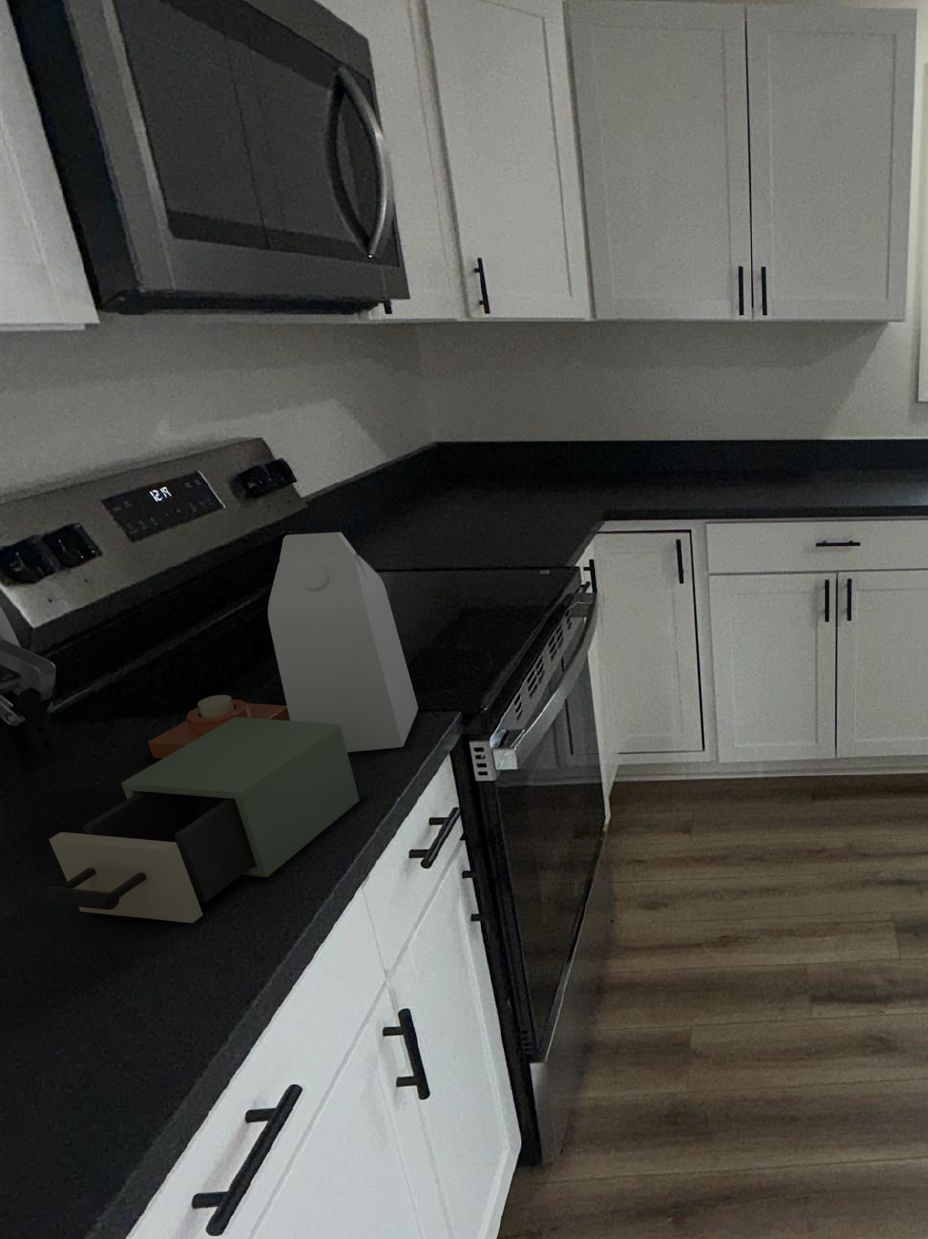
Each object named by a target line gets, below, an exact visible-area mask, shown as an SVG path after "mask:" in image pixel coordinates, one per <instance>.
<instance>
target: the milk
mask: <svg viewBox="0 0 928 1239" xmlns="http://www.w3.org/2000/svg"><path fill="white" fill-rule="evenodd" d="M281 545H282V546H281V548H280V549H281V550H280V555H279V562H278V563H277V568H276V572H275V576H274V580H273V583H272V588H271V590H270V596H269V600H268V605H267V619H268V625H269V629H270V634H271V638H272V642H273V647H274V653H275V657H276V662H277V666H278V670H279V676H280V680H281V685H282V689H283V694H284V698H285V703H286V706H287V708H288V713H289V718H290V721H299V722H314V723H328V724H340V727H341V731H342V735H343V738H344V742H345V746H346V750H347V753H353V752H364V751H375V750H384V749H394V748H395V749H396V748H403V747H404V746H405V743H406V740H407V738H408V735H409V733H410V731H411V728H412V726H413V723H414V721H415V718H416V716H417V714H418V710H419V705H418V703H417V698H416V694H415V692H414V688H413V684H412V680H411V677H410V673H409V669H408V666H407V662H406V659H405V655H404V652H403V648H402V644H401V640H400V637H399V633H398V629H397V626H396V623H395V618H394V614H393V611H392V606H391V604H390V600H389V597H388V593H387V589H386V587H385V583H384V581H383V579H382V578H381V576H380V575H379V574H378V572H376V571H375V569H374V570H373V569H372V568H371V567H370V566H369V565H368V564H367V563H366V562H365V561H366V560H364V559H363V557H361V556H360V555H359V554H357V551H356V550H355V549H354V547H353V546H352V545H351V543H350V542H349V540H347V538H346V537H345V535H344V534H343V533H342V531H339V532H338V531H337V532H317V533H315V532H314V533H297V534H286V535H285V536H284V537H283V539H282V544H281Z"/></svg>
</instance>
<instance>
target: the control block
mask: <svg viewBox="0 0 928 1239" xmlns="http://www.w3.org/2000/svg"><path fill="white" fill-rule="evenodd" d="M232 702H233V705H234V708H235V710H234V711H232V712H230V713H228V714H225V715H222V716H218V717H211V718H202V717H201V714H200V711H199V708H198V706H197V707H195V708H193V709H192V710H190V711H188V713H187V715H186V717H185V719H186V720H185V721H184V722H182V723H180V724H179V725H176V726H174V727H173V728H171V729H169V730H167V731H166V732H163V733H162V734H160V735H158V736H156V737H154V738H152V739H150V740H149V741H147V744H148V747H149V750H150V752H151V755H152V757H153V758H155V759H163V758H165V757H167V756H169V755H170V754H172V753H174V752H176V751H177V750H179V749H181V748H182V747H184V746H186V745H188V744H189V743H191V742H193V741H195V740H196V739H198V738H200V737H201V736H203V735H205V734H207V733H208V732H210V731H212V730H214V729H215V728H217V727H219V726H221V725H222V724H224V723H226V722H227V721H229V720H231V719H233V718H234V717H242V718H256V719H270V720H285V721H290V718H289V713H288V708H287V705H281V704H280V705H279V704H268V703H267V704H266V703H265V704H264V703H251V702H246V701H244V700H242V699H232Z"/></svg>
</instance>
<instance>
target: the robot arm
mask: <svg viewBox="0 0 928 1239" xmlns="http://www.w3.org/2000/svg"><path fill="white" fill-rule="evenodd" d="M56 675H57V666H56V664H54V663H53V661H52V660H49V659H47V658H44V657H43V656H41V655H38V654H36V653H34V652H32V651H30V650H28V649H25V648H23V647H22V646H21V645H20V643H19V641H18V638H17V636H16V634H15V631H14V630H13V627H12V625H11V623H10V621H9V619H8V617H7V615H6V613H5V612H4V610H3V607H2V606H1V605H0V719H1V720H2V721H4V723H6V724H5V725H2V726H0V730H1V734H2V735H3V738H4V740H5V743H6V745H7V747H8V749H9V751H10V754H11V755H12V758H13V760H14V762H15V764H16V767H17V769H18V771H19V772H20V773H21V774H23V775H32V774H34V773H36V772H38V771H41V770H42V769H44V768H46V767H48V766H50V765H52V764H53V763H55V762H57V761H59V760H61V759H63V758H64V757H65V755H66V751H65V748H64V746H63V744H62V741H61V740H60V737H59V734H58V732H57V730H56V728H55V727H56V726H55V725H54V722H53V720H52V718H51V716H50V713H49V712H50V711H52V710H53V709H54V704H53V701H54V699H55V697H56V695H57V693H58V692H57V688H56ZM11 692H13V694H15V695H16V696H17V698H16V700H15V702H14V704H13V703H12V702H11V701H9V700H8V699H7V698H5V697H4V695H7V694H9V693H11Z"/></svg>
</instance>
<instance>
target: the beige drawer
mask: <svg viewBox="0 0 928 1239" xmlns="http://www.w3.org/2000/svg"><path fill="white" fill-rule="evenodd" d="M82 829H83V831H84V833H77V832H76V833H75V832H64V831H61V832H59V833H57V834H55V835H53V836H52V837H51V838H49V839H48V841H49V844H50V845H51V848H52V850H53V852H54V855H55V857H56V859H57V861H58V863H59V866H60V868H61V870H62V873H63V875H64V878H65V879H66V882H64V883H63V884H61V885H60V886H49V887H47V888H45V889H44V890H43V891H42V893H41V897H40V898H41V901H42V903H44V904H47V905H57V906H65V907H67V906H68V907H76V908H78V909H79V911H80V912H82V913H91V914H101V915H111V916H119V917H131V918H140V919H150V920H160V921H168V922H177V923H185V924H186V923H188V924H194V923H195V922H197V921H198V920H199V919H200V918H202V917H203V915H204V913H203V911H202V908H201V906H200V903H208V902H209V901H211V900H212V899H213V898H214V897H215V896H217V895H218V894H219V893H220V892H221V891H223V890H224V889H226V887H228V886H229V885H231V883H233V882H234V881H235V880H236V879H238V878H239V877H240V876H242V875H241V874H243V873H244V872H245V871H246V870H248V869H249V868H250V867H251V866H253V865H254V864H255V863H256V862H255V859H254V855H253V852H252V849H251V846H250V843H249V840H248V837H247V834H246V831H245V828H244V825H243V822H242V819H241V816H240V813H239V810H238V807H237V804H236V801H235V799H228V798H216V797H204V796H192V795H180V794H168V793H156V792H144V791H141V792H139V793H137V794H136V795H134V796H132V797H131V798H129V799H127V798H126V800H124V801H122V802H121V803H119V804H118V805H115V806H114V807H113V808H110V809H109V810H107V811H106V812H104V813H102V814H101V815H99V816H98V817H96V818H94V819H92V820H91V821H89V822H88V823H86V824H83V826H82Z"/></svg>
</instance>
